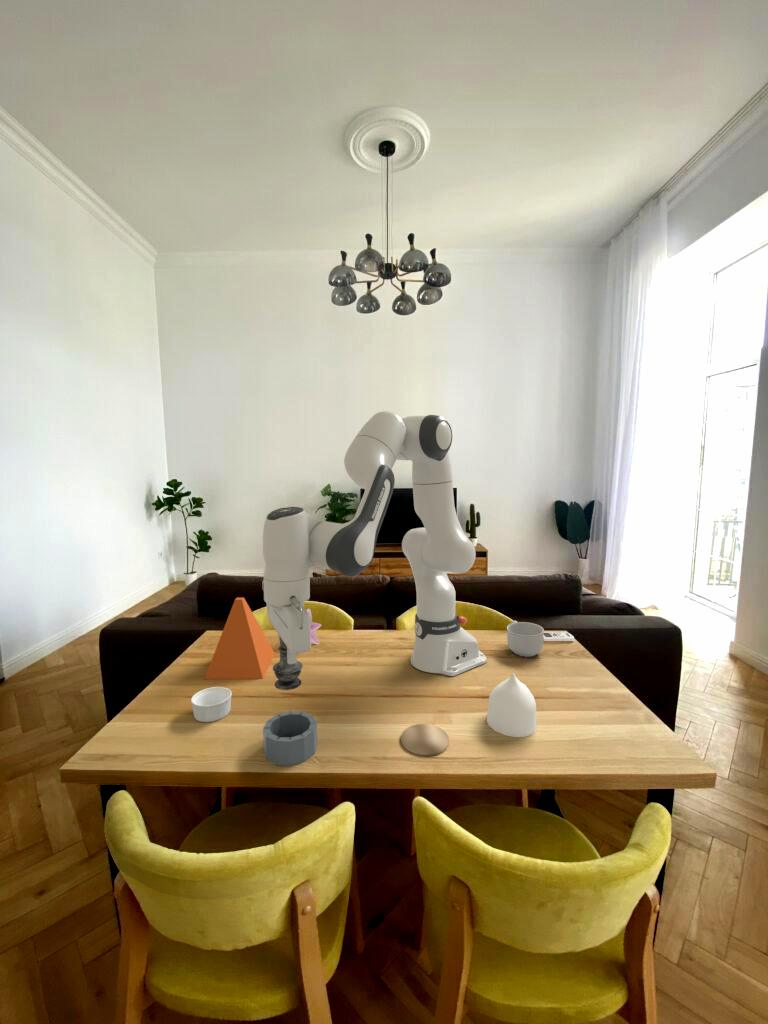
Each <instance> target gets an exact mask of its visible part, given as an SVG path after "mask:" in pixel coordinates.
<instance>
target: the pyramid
mask: <svg viewBox="0 0 768 1024" xmlns="http://www.w3.org/2000/svg"><path fill="white" fill-rule="evenodd" d="M275 655H276V653H275V651H274V649H273V647H272V646H271V644H270V642H269V640H268V638H267V637H266V635H265V632H264V631H263V630H262V628H261V626H260V624H259V622H258V620H257V618H256V617H255V615H254V613H253V612H252V610H251V608H250V606H249V604H248V602H247V601H246V599H245V597H236V598H235V599H234V602H233V604H232V606H231V609H230V612H229V614H228V617H227V620H226V622H225V624H224V627H223V630H222V633H221V635H220V637H219V640H218V643H217V645H216V648H215V651H214V654H213V656H212V659H211V661H210V664H209V666H208V670H207V671H206V675H205V676H204V680H239V679H240V680H244V679H245V680H247V679H250V680H251V679H252V680H253V679H256V680H257V679H260V680H261V679H264V677H265V675H266V673H267V671H268V669H269V667H270V664H272V663H271V662H273V661H272V660H273V658H274V657H275Z"/></svg>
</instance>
